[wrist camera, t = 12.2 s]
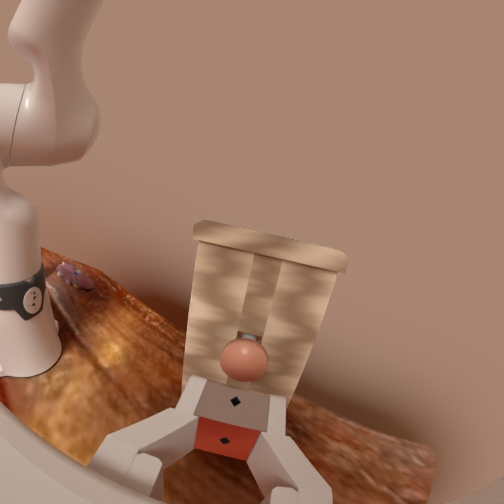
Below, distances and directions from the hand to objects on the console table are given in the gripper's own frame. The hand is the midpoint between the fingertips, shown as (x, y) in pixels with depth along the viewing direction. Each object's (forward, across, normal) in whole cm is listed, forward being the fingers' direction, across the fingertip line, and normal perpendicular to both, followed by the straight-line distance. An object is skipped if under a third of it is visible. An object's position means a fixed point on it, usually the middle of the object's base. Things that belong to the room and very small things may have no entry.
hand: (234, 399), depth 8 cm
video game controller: (+39, +41, +25) cm, 62 cm away
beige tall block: (+18, -1, +23) cm, 30 cm away
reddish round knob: (+17, 0, +11) cm, 20 cm away
